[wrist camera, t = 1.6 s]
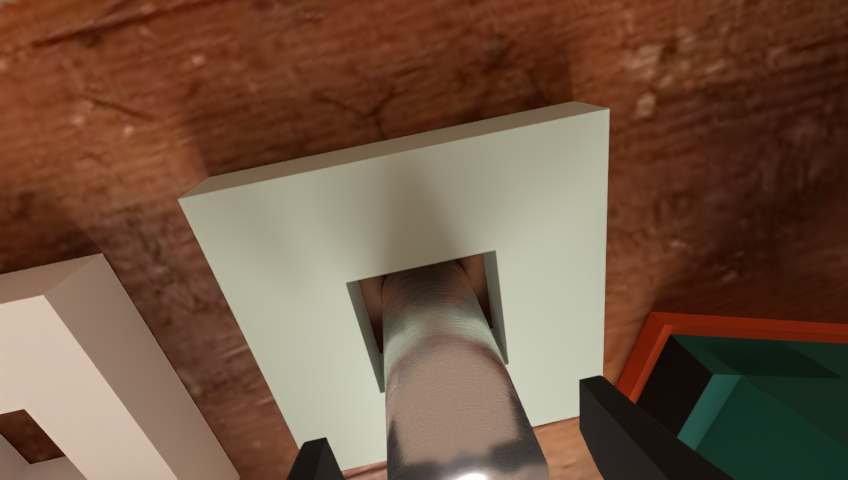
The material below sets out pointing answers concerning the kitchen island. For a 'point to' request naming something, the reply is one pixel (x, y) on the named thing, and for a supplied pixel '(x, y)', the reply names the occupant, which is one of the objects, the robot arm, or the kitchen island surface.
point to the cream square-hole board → (96, 382)
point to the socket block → (415, 260)
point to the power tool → (747, 392)
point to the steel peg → (449, 385)
